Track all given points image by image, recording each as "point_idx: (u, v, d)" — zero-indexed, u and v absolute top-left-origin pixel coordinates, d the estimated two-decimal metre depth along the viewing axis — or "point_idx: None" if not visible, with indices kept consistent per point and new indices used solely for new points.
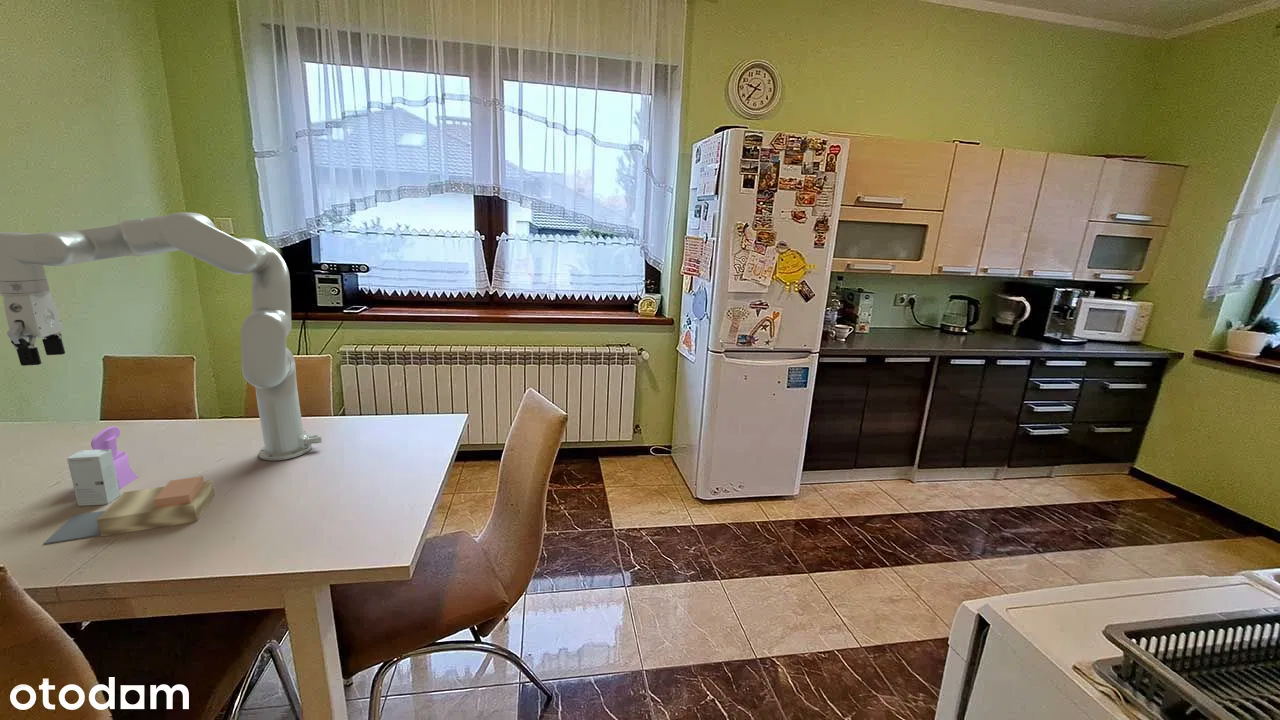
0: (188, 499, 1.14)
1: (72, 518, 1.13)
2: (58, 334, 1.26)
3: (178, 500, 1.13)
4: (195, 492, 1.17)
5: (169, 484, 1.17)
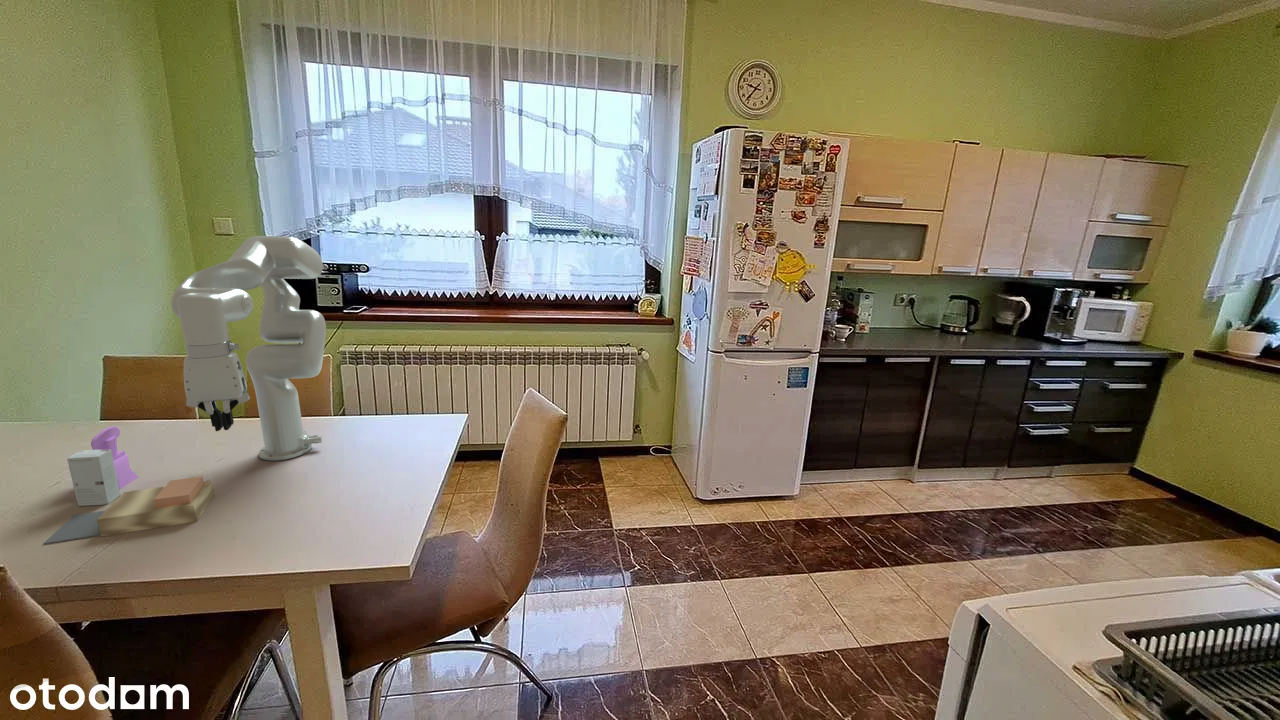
0: (188, 499, 1.14)
1: (72, 518, 1.13)
2: None
3: (178, 500, 1.13)
4: (195, 492, 1.17)
5: (169, 484, 1.17)
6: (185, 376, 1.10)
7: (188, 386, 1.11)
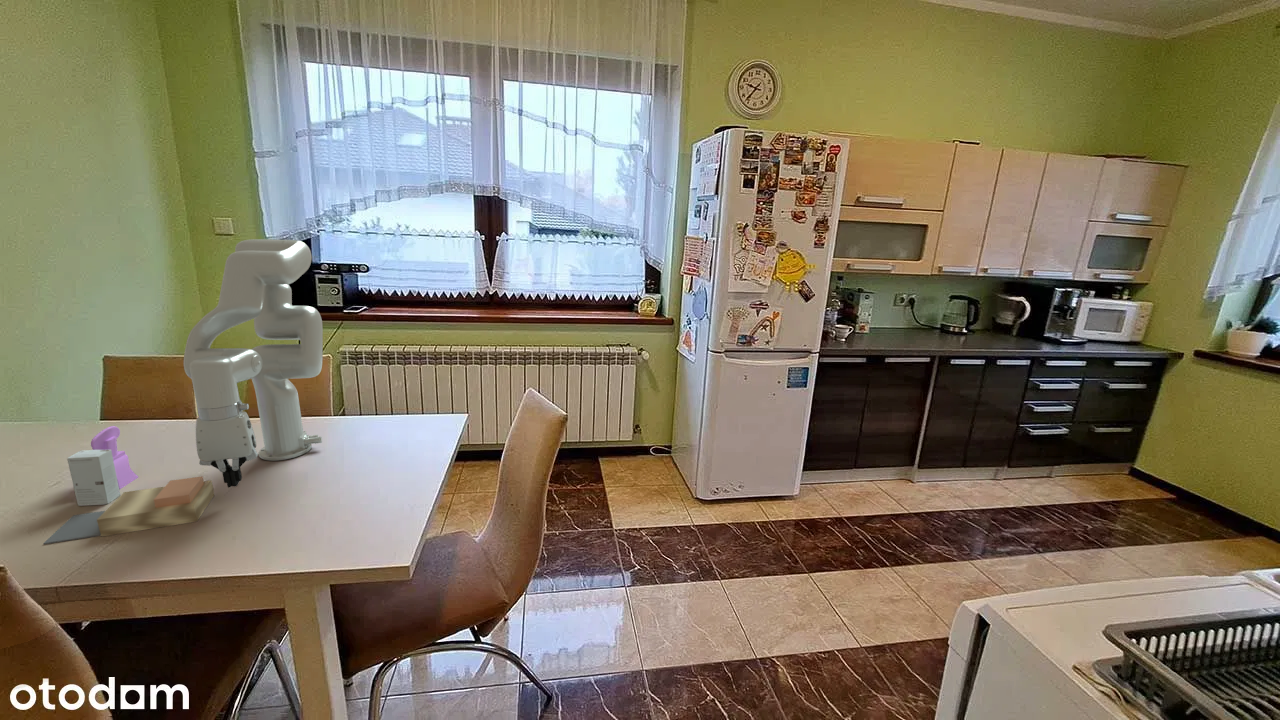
0: (188, 499, 1.14)
1: (72, 518, 1.13)
2: None
3: (178, 500, 1.13)
4: (195, 492, 1.17)
5: (169, 484, 1.17)
6: (197, 437, 1.14)
7: (200, 446, 1.14)
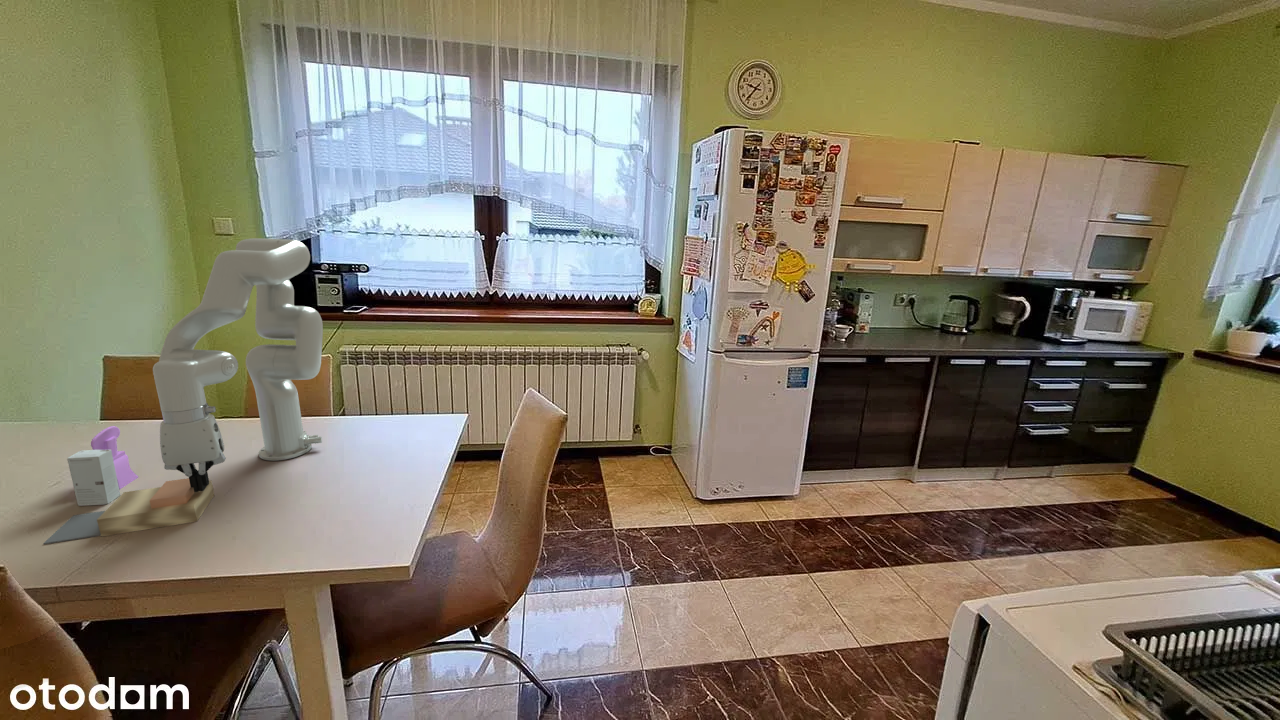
0: (184, 500, 1.14)
1: (72, 518, 1.13)
2: None
3: (174, 501, 1.13)
4: (191, 492, 1.17)
5: (165, 485, 1.17)
6: (161, 441, 1.11)
7: (164, 450, 1.12)
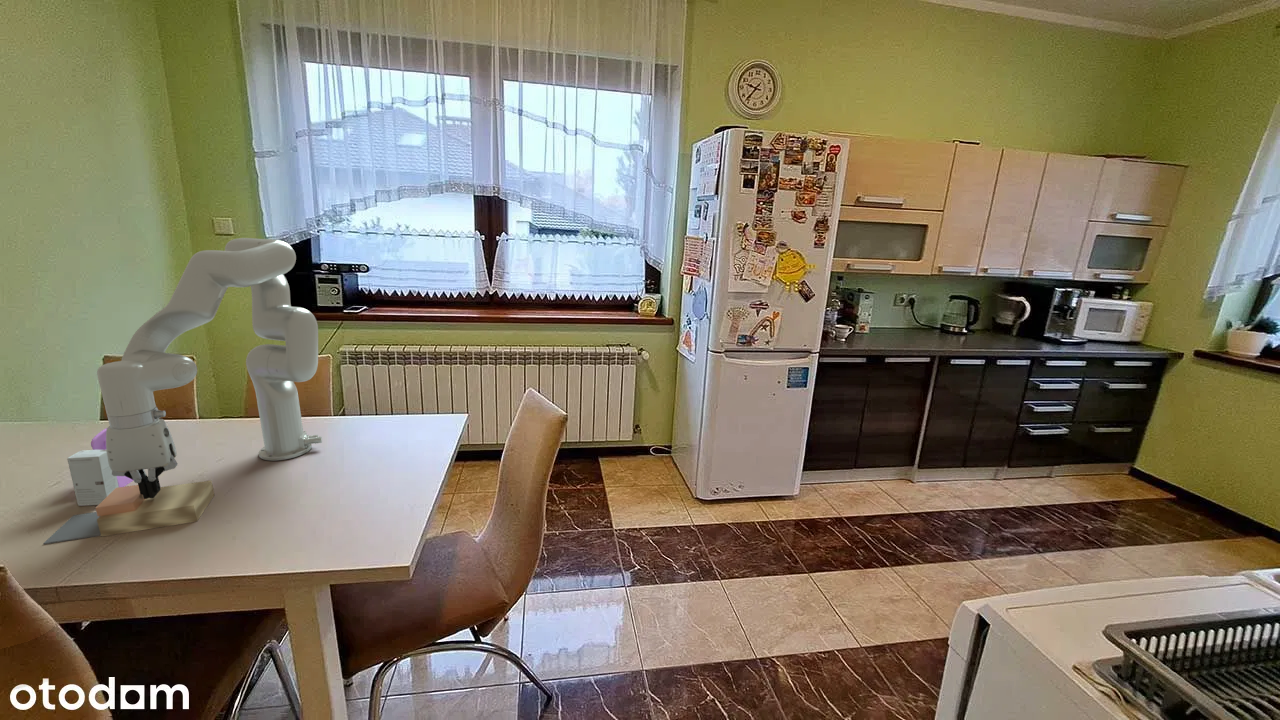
0: (132, 507, 1.10)
1: (72, 518, 1.13)
2: None
3: (122, 508, 1.09)
4: (140, 499, 1.13)
5: (114, 492, 1.13)
6: (107, 446, 1.08)
7: (111, 456, 1.08)
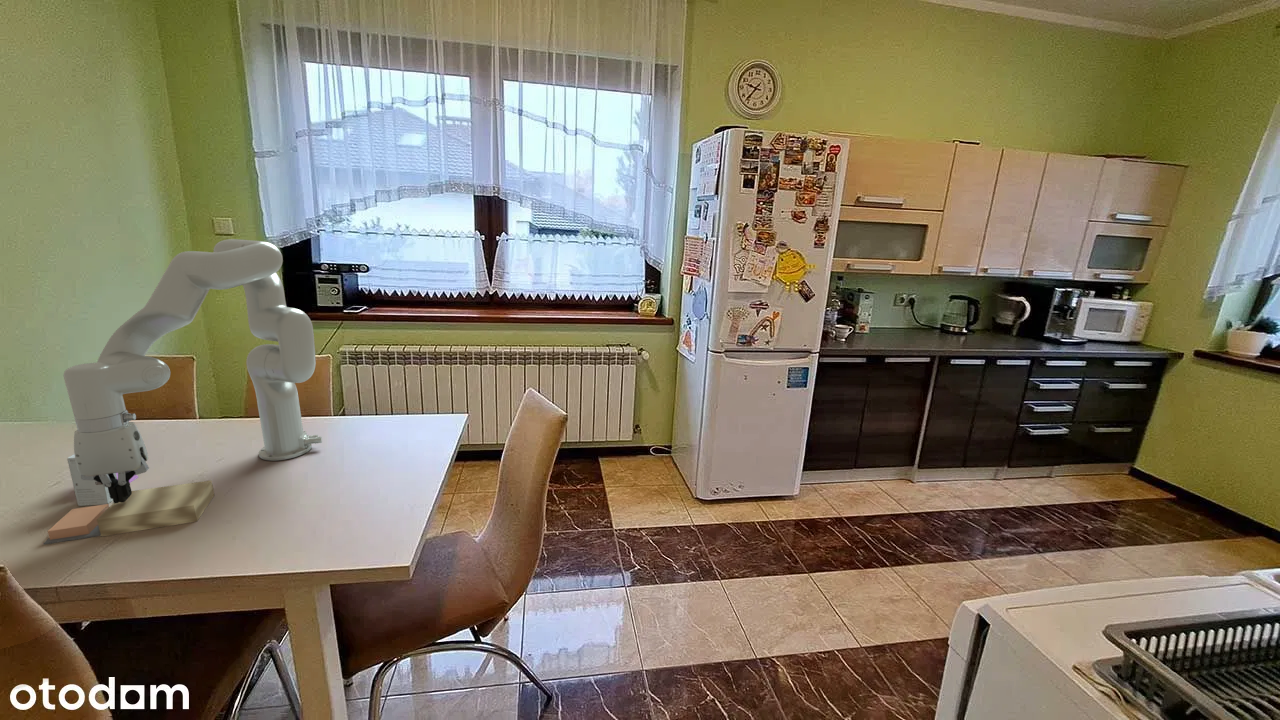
0: (50, 534, 1.06)
1: None
2: None
3: (61, 533, 1.06)
4: None
5: None
6: (75, 450, 1.06)
7: (79, 460, 1.06)
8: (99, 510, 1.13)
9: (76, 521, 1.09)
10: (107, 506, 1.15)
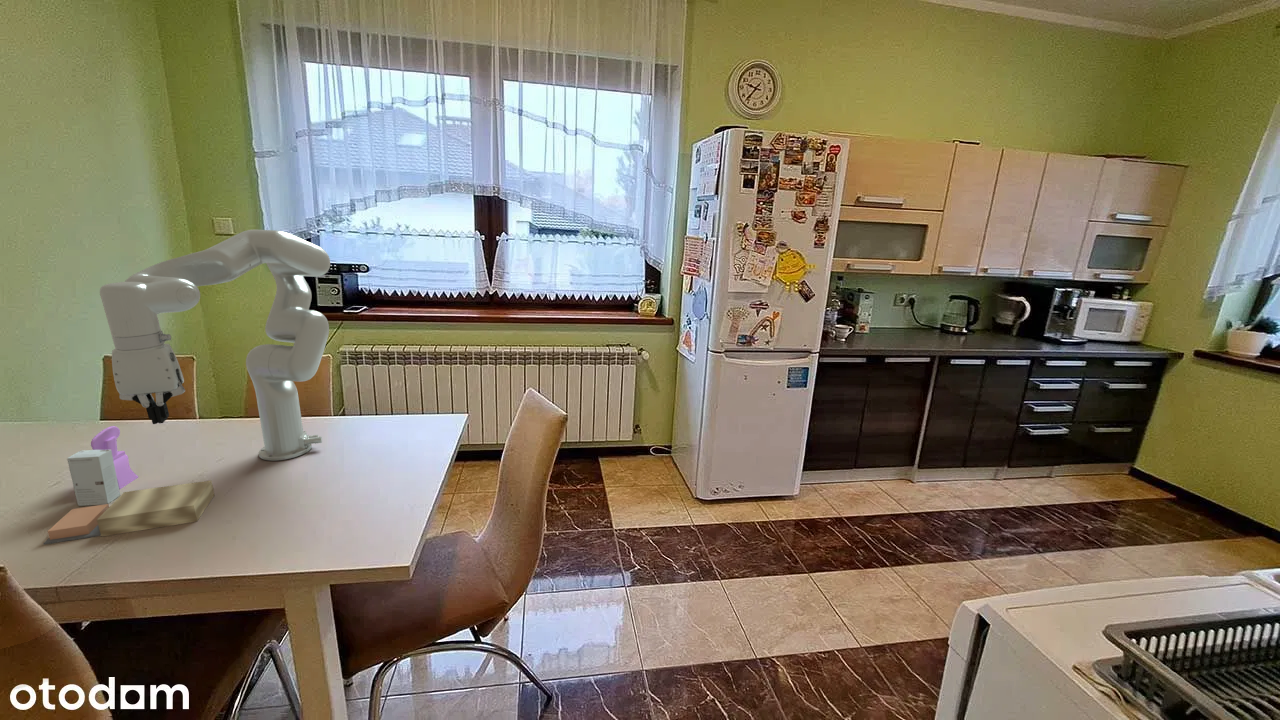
0: (50, 534, 1.06)
1: None
2: None
3: (61, 533, 1.06)
4: None
5: None
6: (114, 368, 1.06)
7: (118, 379, 1.07)
8: (99, 510, 1.13)
9: (76, 521, 1.09)
10: (107, 506, 1.15)
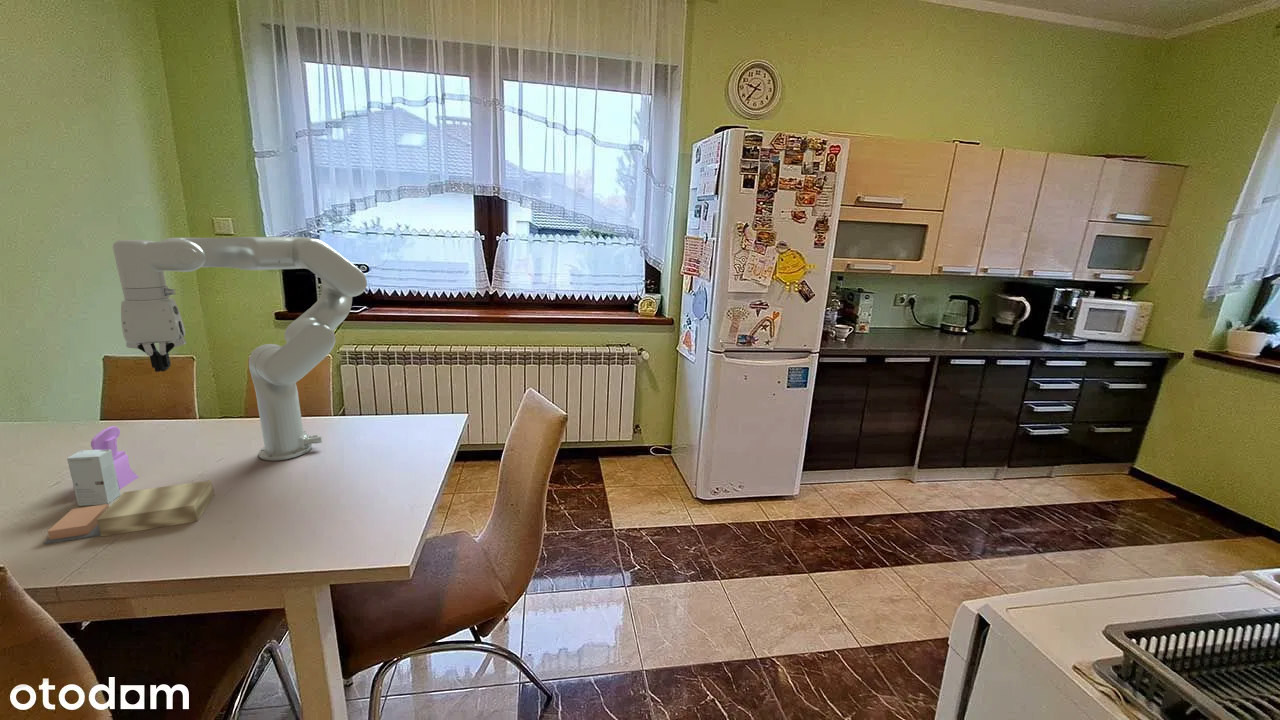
0: (50, 534, 1.06)
1: None
2: None
3: (61, 533, 1.06)
4: None
5: None
6: (122, 318, 1.17)
7: (125, 327, 1.18)
8: (99, 510, 1.13)
9: (76, 521, 1.09)
10: (107, 506, 1.15)
